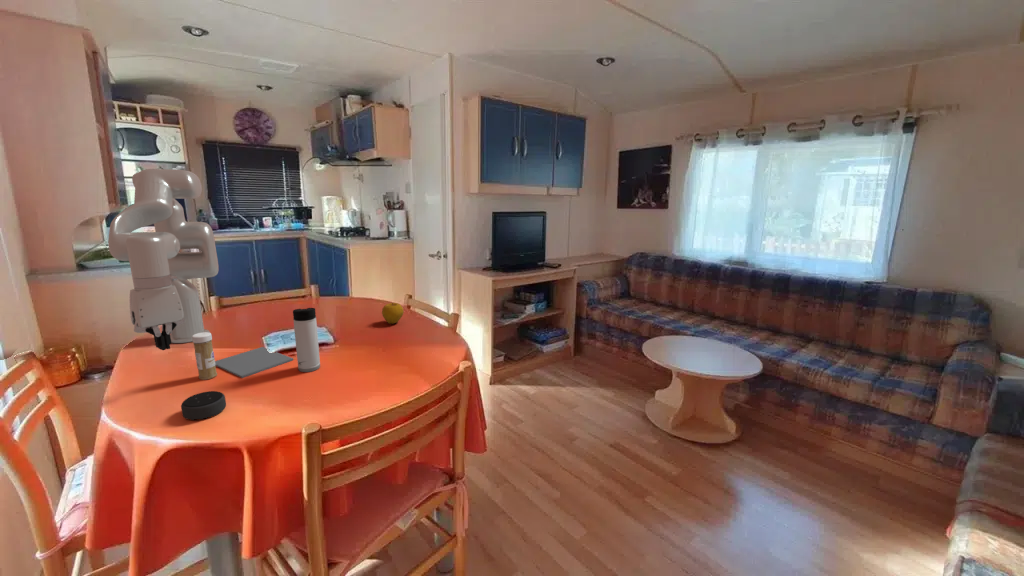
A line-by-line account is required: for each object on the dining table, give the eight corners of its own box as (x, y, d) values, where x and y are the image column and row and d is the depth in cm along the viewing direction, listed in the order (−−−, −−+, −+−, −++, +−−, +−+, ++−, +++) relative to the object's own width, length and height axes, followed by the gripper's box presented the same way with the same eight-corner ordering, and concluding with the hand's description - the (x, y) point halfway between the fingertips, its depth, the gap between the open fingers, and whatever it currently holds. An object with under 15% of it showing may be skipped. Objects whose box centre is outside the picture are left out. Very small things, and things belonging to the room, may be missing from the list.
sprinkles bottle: (217, 378, 122) (210, 335, 119) (198, 381, 119) (190, 338, 116) (217, 372, 126) (211, 330, 122) (199, 375, 123) (192, 333, 120)
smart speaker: (212, 422, 100) (210, 407, 99) (174, 422, 99) (171, 407, 98) (233, 403, 109) (232, 389, 108) (198, 403, 108) (196, 390, 107)
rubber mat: (211, 364, 131) (211, 362, 131) (262, 348, 144) (262, 346, 144) (242, 378, 122) (242, 376, 122) (293, 360, 136) (293, 358, 136)
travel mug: (298, 374, 126) (292, 311, 121) (298, 366, 131) (292, 306, 127) (320, 370, 129) (315, 309, 124) (319, 362, 134) (314, 304, 130)
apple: (400, 326, 171) (399, 306, 169) (379, 326, 171) (378, 305, 169) (406, 320, 180) (405, 300, 178) (386, 319, 180) (385, 299, 178)
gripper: (179, 276, 116) (189, 338, 120) (109, 285, 103) (122, 354, 107) (192, 279, 112) (202, 343, 116) (121, 289, 99) (134, 360, 103)
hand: (164, 348), depth 112 cm, fingers closed
